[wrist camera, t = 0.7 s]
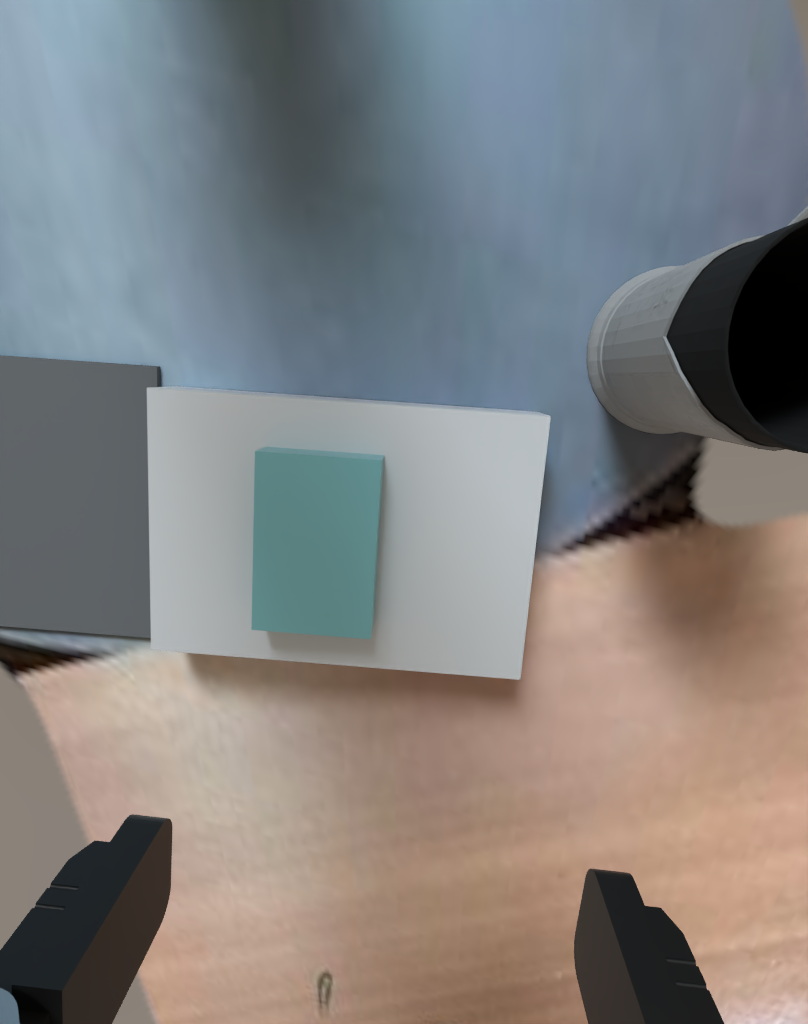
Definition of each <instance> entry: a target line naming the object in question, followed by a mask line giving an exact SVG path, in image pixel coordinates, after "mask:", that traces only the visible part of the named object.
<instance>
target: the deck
mask: <svg viewBox="0 0 808 1024" xmlns="http://www.w3.org/2000/svg"><path fill="white" fill-rule="evenodd" d="M550 418H551V416H548V415H545V414H542V413H539V412H533V411H519V410H505V409H491V408H477V407H463V406H449V405H435V404H421V403H406V402H392V401H378V400H364V399H350V398H336V397H322V396H308V395H293V394H279V393H265V392H251V391H237V390H223V389H209V388H195V387H181V386H173V387H149V388H147V435H148V496H149V557H150V618H151V650H158V651H171V652H183V653H195V654H208V655H220V656H233V657H245V658H257V659H270V660H282V661H294V662H307V663H319V664H331V665H344V666H356V667H368V668H381V669H393V670H406V671H418V672H430V673H443V674H455V675H467V676H480V677H492V678H504V679H517V680H520V678H521V669H522V660H523V652H524V643H525V634H526V626H527V617H528V608H529V600H530V591H531V583H532V574H533V565H534V557H535V548H536V539H537V531H538V522H539V513H540V505H541V496H542V487H543V479H544V470H545V461H546V453H547V444H548V436H549V427H550ZM263 447H279V448H292V449H306V450H320V451H333V452H347V453H361V454H375V455H384V471H383V488H382V504H381V520H380V536H379V552H378V568H377V584H376V601H375V617H374V627H373V631H372V635H371V639H360V638H348V637H335V636H323V635H310V634H298V633H285V632H272V631H260V630H251V628H252V575H253V522H254V470H255V451H256V450H259V449H261V448H263Z"/></svg>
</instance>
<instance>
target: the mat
mask: <svg viewBox="0 0 808 1024" xmlns="http://www.w3.org/2000/svg"><path fill="white" fill-rule="evenodd" d="M149 387H160V367H157V366H143V365H128V364H114V363H100V362H86V361H71V360H57V359H43V358H29V357H14V356H0V626H6V627H18V628H31V629H43V630H56V631H68V632H80V633H93V634H105V635H118V636H130V637H143V638H151V618H150V557H149V496H148V435H147V388H149Z"/></svg>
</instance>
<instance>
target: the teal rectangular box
mask: <svg viewBox="0 0 808 1024" xmlns="http://www.w3.org/2000/svg"><path fill="white" fill-rule="evenodd" d="M383 471H384V455H375V454H361V453H347V452H333V451H320V450H306V449H292V448H279V447H263V448H261V449H259V450H256V451H255V470H254V522H253V575H252V628H251V630H260V631H272V632H285V633H298V634H310V635H323V636H335V637H348V638H360V639H371V635H372V631H373V627H374V617H375V601H376V584H377V568H378V552H379V536H380V520H381V504H382V488H383Z"/></svg>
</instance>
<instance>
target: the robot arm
mask: <svg viewBox="0 0 808 1024" xmlns="http://www.w3.org/2000/svg"><path fill="white" fill-rule="evenodd" d="M171 856H172V822H171V820H170V819H167V818H159V817H150V816H141V815H130V816H129V817H127V819H126V820H125V821H124V823H123V824H122V826H121V827H120V828H119V830H118V831H117V833H116V834H115V836H114V837H113V839H112V840H111V841H110V842H103V841H94V842H92V843H91V844H90V845H88V846H87V847H85V848H84V849H83V850H81V851H80V852H79V853H78V854H76V855H74V856H73V857H72V858H70V859H69V860H68V861H67V863H66V864H65V865H64V867H63V868H62V869H61V871H60V872H59V873H58V875H57V876H56V877H55V879H54V880H53V881H52V883H51V886H50V888H47V889H46V890H45V892H44V893H43V894H42V896H41V897H40V899H39V900H38V901H37V902H36V906H35V908H32V909H31V910H30V912H29V913H28V914H27V916H26V917H25V918H24V920H23V921H22V922H21V924H20V925H19V927H18V928H17V929H16V930H15V932H14V933H13V934H12V936H11V937H10V938H9V940H8V941H7V942H6V944H5V945H4V946H3V948H2V949H1V950H0V1024H112V1022H113V1020H114V1018H115V1016H116V1014H117V1012H118V1010H119V1008H120V1006H121V1004H122V1002H123V1000H124V998H125V996H126V994H127V992H128V990H129V987H130V986H131V984H132V982H133V980H134V978H135V976H136V974H137V972H138V970H139V968H140V966H141V964H142V962H143V960H144V958H145V956H146V954H147V952H148V949H149V947H150V945H151V943H152V941H153V939H154V937H155V935H156V933H157V931H158V929H159V927H160V925H161V923H162V920H163V918H164V915H165V912H166V908H167V905H168V900H169V895H170V888H171ZM574 959H575V969H576V975H577V979H578V983H579V987H580V991H581V996H582V1000H583V1004H584V1008H585V1012H586V1016H587V1020H588V1024H724V1022H723V1020H722V1018H721V1016H720V1013H719V1011H718V1009H717V1007H716V1005H715V1002H714V1000H713V998H712V996H711V994H710V991H709V990H707V989H706V983H705V981H704V978H703V976H702V974H701V972H700V970H699V967H698V966H696V963H695V962H696V961H695V959H694V956H693V954H692V952H691V950H690V948H689V945H688V943H687V941H686V939H685V937H684V934H683V933H682V931H681V930H680V929H679V928H678V927H677V926H676V925H675V924H674V922H673V921H672V920H671V919H670V918H669V917H668V916H667V914H666V913H665V912H664V911H663V910H662V909H661V908H658V907H649V906H645V905H644V903H643V900H642V898H641V896H640V893H639V891H638V888H637V886H636V883H635V881H634V879H633V877H632V875H631V874H630V873H624V872H616V871H607V870H598V869H589V870H588V872H587V874H586V878H585V883H584V889H583V894H582V900H581V905H580V910H579V916H578V921H577V927H576V932H575V940H574Z"/></svg>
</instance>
